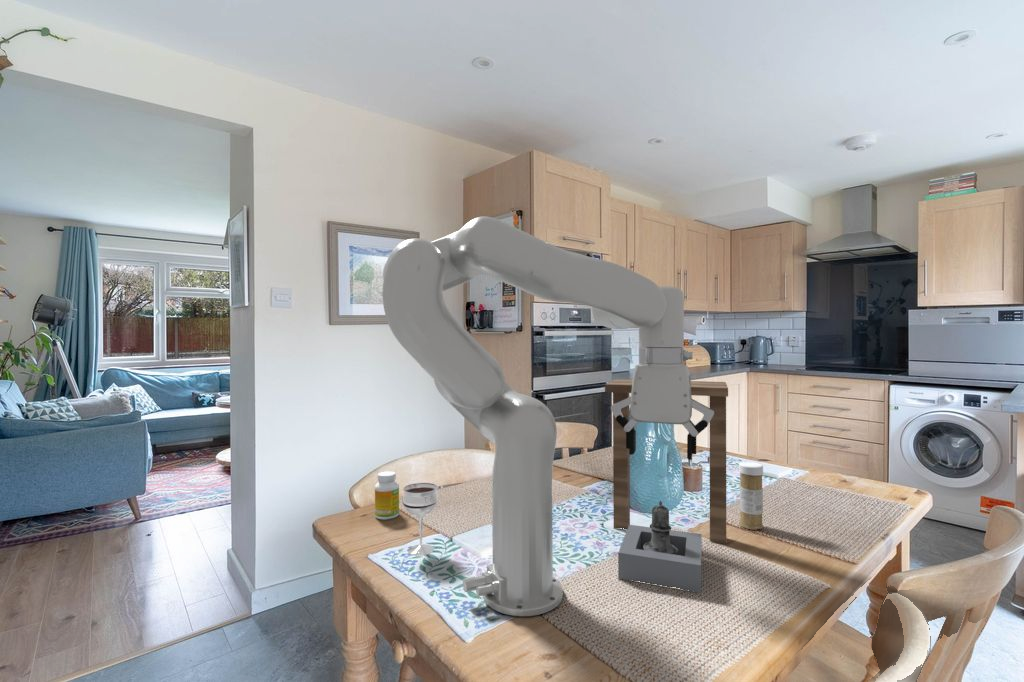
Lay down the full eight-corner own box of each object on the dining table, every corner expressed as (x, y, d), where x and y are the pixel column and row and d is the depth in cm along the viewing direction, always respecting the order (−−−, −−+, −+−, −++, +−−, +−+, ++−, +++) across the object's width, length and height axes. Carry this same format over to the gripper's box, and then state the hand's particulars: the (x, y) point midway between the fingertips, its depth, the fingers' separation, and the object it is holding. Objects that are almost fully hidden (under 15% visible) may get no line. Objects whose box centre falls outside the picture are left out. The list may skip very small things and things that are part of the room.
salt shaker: (680, 578, 83) (680, 507, 82) (644, 575, 84) (643, 505, 84) (676, 562, 88) (676, 496, 88) (642, 559, 90) (642, 494, 89)
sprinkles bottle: (752, 521, 107) (752, 460, 107) (768, 529, 103) (768, 465, 103) (734, 523, 106) (734, 461, 106) (749, 531, 102) (749, 467, 102)
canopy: (728, 563, 88) (728, 388, 87) (605, 545, 96) (604, 384, 95) (725, 537, 99) (725, 382, 98) (615, 523, 107) (615, 379, 106)
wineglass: (444, 552, 93) (443, 489, 93) (409, 561, 90) (409, 495, 89) (431, 539, 99) (430, 480, 99) (398, 547, 95) (397, 486, 95)
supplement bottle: (395, 520, 110) (395, 476, 109) (372, 520, 110) (371, 476, 110) (401, 511, 115) (401, 470, 115) (378, 511, 115) (378, 470, 115)
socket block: (701, 593, 78) (701, 565, 78) (618, 579, 82) (618, 552, 82) (701, 558, 90) (701, 534, 90) (629, 547, 95) (629, 524, 94)
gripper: (714, 357, 86) (713, 455, 86) (614, 356, 92) (614, 446, 92) (714, 359, 79) (714, 465, 79) (607, 357, 85) (607, 455, 85)
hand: (660, 455), depth 86 cm, fingers open, 9 cm apart
